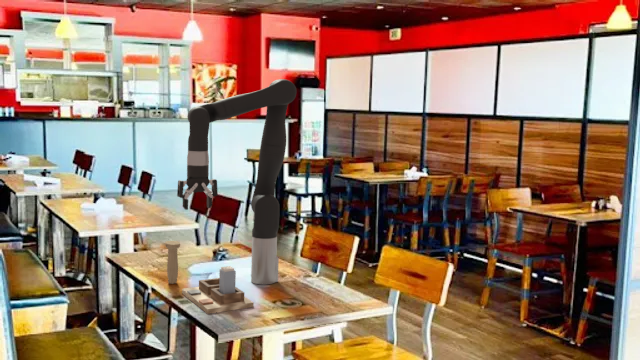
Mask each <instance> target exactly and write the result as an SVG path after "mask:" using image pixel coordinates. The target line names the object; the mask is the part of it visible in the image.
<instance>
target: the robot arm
mask: <svg viewBox="0 0 640 360" xmlns="http://www.w3.org/2000/svg"><path fill="white" fill-rule="evenodd" d="M297 92H298V91H297V87H296V85H295V84H294V83H293V82H292V81H291V80H289V79H286V78H285V79H283V78H280V79H275V80H273V81H272V82H270V84H269V86H266V87H264V88H262V89H259V90H256V91H252V92H248V93H242V94H237V95H234V96H230V97H226V98H223V99H219V100H217V101H215V102H210V103H206V104H202V105H197V106H194V107H192V108H190V110H189V111H188V113H187V121H188V122H189V135H188V140H187V155H186V156H187V157H186V162H187V163H186V180H181V179H178V181H177V194H176V196H177V197H178V198H180V199H182V208H183V209H184V210H185V211H188V210H189V197H190V196H191V195H192V194H193V193H203V192H204V193H205V195H206V207H207V209H212V208H211V207H213V198H214V197H217V196H218V180H217V179H216V178H212V179H209V174H210V172H209V171H210V170H209V168H210V167H209V165H210V157H209V156H210V155H209V132H210V123H213V122H217V121H225V120H228V119H232V118H234V117H238V116H241V115H243V114H247V113H249V112H252V111H255V110H259V109H263V108H266V115H265V119H264V120H265V121H264V126H263V129H262V136H261V142H260V148H259V156H258V162H257V163H258V164H257V177H256V182H255V187H254V190H253V194H252V198H251V204H250V205H251V209H252V212H253V213H254V218H253V219H254V221H253V228H252V230H251V266H250V267H251V270H250V271H251V273H250V274H251V275H250V281H251V283H253V284H256V285H272V284H275V283H277V282H279V260H280V259H279V256H277V255H278V253H277V251H278V250H277V249H278V245H277V244H278V232H279V229H280V228H279V226H280V203H279V200H278V198H277V197H276V196H275V194H276V192H275V191H276V185H277V184H276V183H277V178H278V175H279V174H280V172H281V169H282V166H283V163H284V160H285V154H286V148H287V128H286V127H287V126H286V116H287V111H288V107H289V104H291V103H292V102H293V101H295V99H296V96H297ZM209 185H210V186H211V190H210V189H209V188H208V186H209ZM185 186H187V188H186V189H185V190H184V187H185Z"/></svg>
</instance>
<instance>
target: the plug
mask: <svg viewBox="0 0 640 360" xmlns="http://www.w3.org/2000/svg"><path fill="white" fill-rule="evenodd" d="M236 273H237V272H236V270H235V268H234V267H233V266H231V265H230V266H221V267H220V269H219V277H218V278H219V292H220V293H221V294H229V293H235V287H236V279H237V278H236Z"/></svg>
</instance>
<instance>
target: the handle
mask: <svg viewBox="0 0 640 360" xmlns="http://www.w3.org/2000/svg"><path fill="white" fill-rule="evenodd" d="M164 244H165V248H166V249H167V264H166V269H167V270H166V274H167V283H168V284H170V285H171V284H172V285H174V284H177V282H178V276H179V260H178V259H179V258H178V249H179V248H181V242H180V241H177V240H166V241H165V243H164Z"/></svg>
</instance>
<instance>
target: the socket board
mask: <svg viewBox="0 0 640 360" xmlns="http://www.w3.org/2000/svg"><path fill="white" fill-rule="evenodd" d="M181 294H182V295H183V296H185V297H186V298H187V299H189V300H190V301H191V302H193V304H195V305H196V306H197V307H199V309H201V310H202V311H203V312H205V313H206V314H207V315H209V314H216V312H217V313H221V312H228V311H235V310H242V309H247V308H254V303H255V302H253V301H252V300H251V299H249V298H248V297H246V296H245V292H244V291H243V290H241V289H240V288H238V287H237V286H235V293H229V294H221V293H220V292H219V277H216V278H215V277H214V278H206V279H199V280H198V286H194V287H186V288H185V287H184V288H182V289H181Z"/></svg>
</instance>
